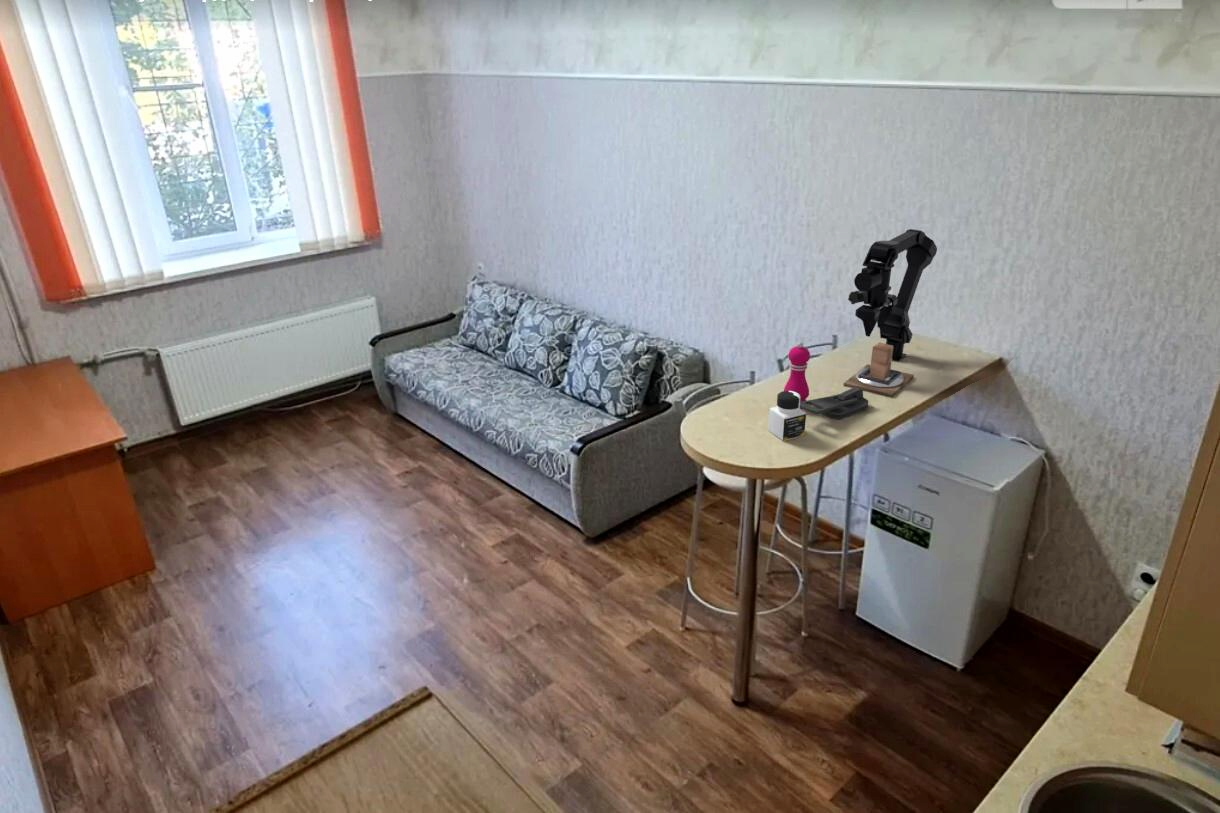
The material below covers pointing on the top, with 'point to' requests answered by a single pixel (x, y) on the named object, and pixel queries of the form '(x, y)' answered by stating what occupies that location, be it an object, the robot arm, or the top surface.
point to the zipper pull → (838, 404)
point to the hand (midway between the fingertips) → (873, 331)
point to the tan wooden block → (881, 361)
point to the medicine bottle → (787, 417)
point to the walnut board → (886, 392)
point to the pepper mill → (798, 371)
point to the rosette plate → (889, 382)
